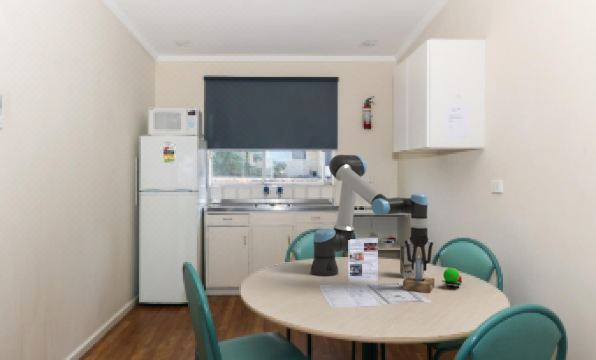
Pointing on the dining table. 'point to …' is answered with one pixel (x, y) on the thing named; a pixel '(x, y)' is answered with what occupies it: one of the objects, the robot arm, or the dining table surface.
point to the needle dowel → (418, 268)
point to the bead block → (418, 284)
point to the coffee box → (405, 262)
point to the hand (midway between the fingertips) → (419, 277)
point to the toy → (452, 277)
